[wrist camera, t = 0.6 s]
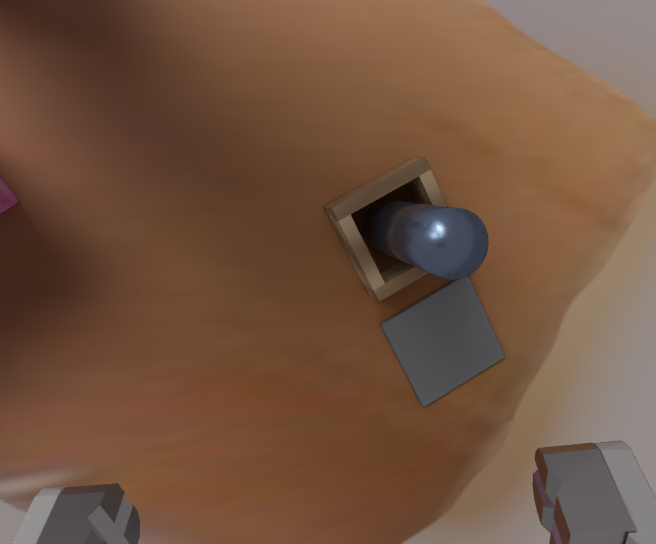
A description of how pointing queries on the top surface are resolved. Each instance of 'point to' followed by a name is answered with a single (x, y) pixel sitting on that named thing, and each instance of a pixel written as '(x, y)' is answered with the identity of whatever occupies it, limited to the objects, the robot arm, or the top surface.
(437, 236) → the tall blue steel cylinder
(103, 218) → the top surface
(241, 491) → the top surface
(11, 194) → the gum box
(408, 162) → the oak collar
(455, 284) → the charcoal mat
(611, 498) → the robot arm
